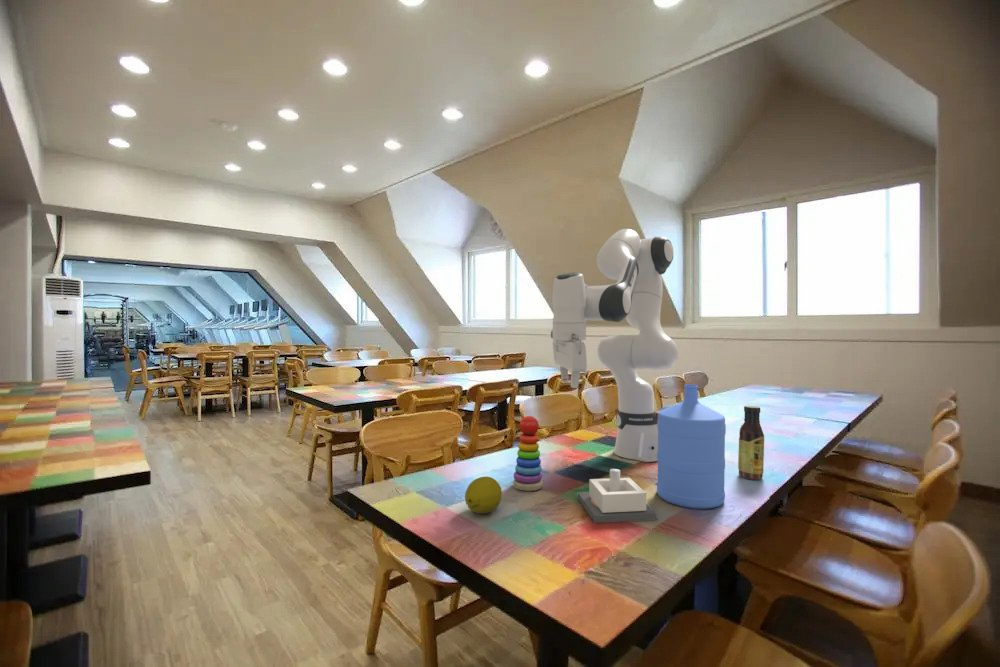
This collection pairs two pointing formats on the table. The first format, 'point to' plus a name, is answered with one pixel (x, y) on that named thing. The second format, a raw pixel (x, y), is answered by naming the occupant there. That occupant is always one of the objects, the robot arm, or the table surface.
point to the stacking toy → (528, 457)
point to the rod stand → (614, 516)
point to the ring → (617, 496)
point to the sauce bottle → (751, 445)
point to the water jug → (691, 453)
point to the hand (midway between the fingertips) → (569, 384)
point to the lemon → (483, 495)
